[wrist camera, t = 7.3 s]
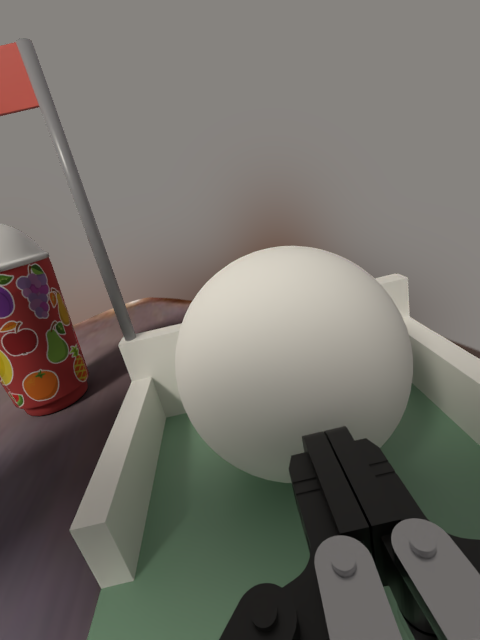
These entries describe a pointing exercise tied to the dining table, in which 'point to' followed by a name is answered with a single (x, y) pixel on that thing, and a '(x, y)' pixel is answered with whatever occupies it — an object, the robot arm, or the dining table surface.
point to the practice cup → (219, 475)
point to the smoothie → (36, 330)
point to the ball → (291, 357)
